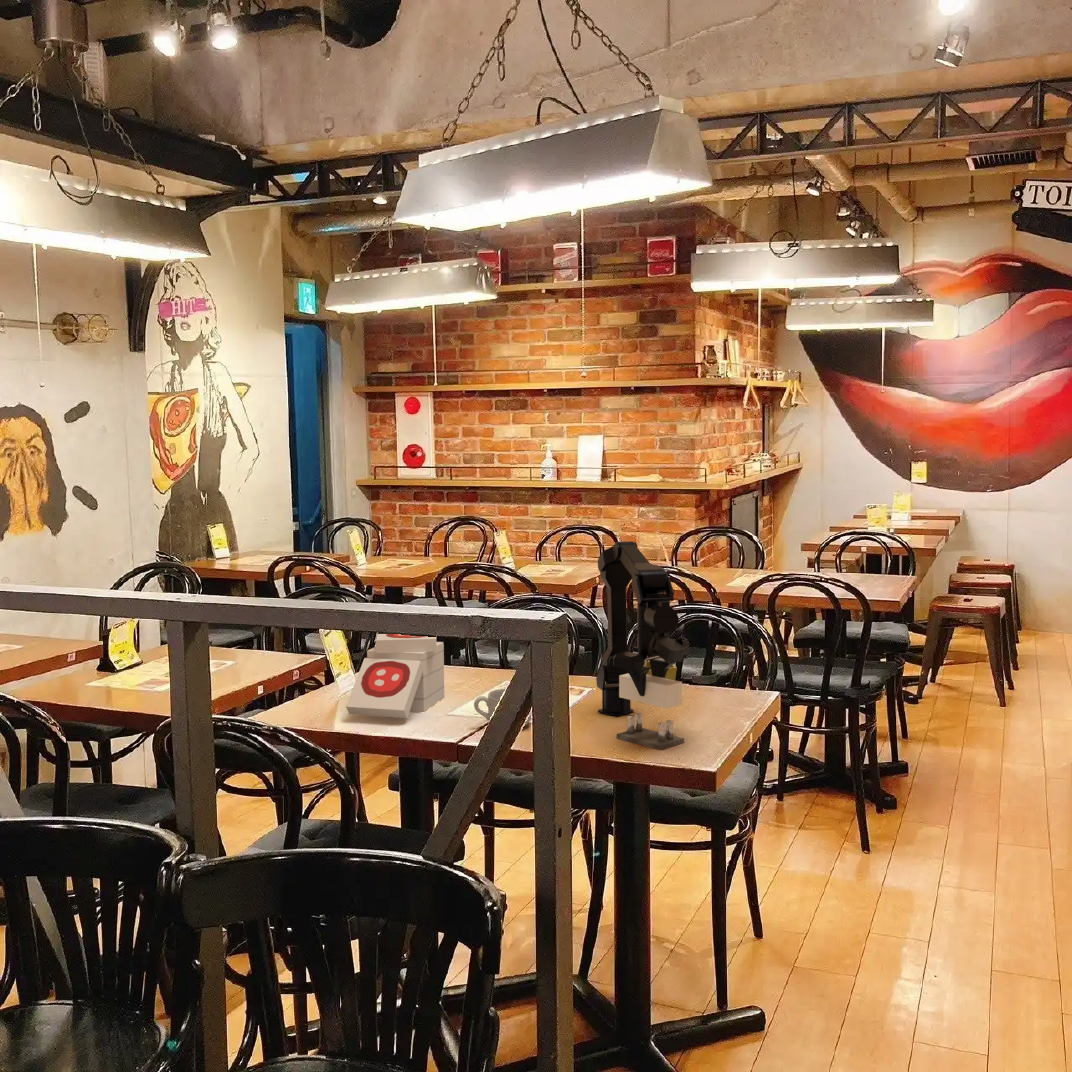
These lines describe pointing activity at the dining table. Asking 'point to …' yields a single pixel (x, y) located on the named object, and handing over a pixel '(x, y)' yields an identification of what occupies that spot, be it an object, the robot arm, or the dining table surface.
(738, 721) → the dining table surface
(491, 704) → the teacup
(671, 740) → the peg stand
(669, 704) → the block
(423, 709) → the stacked boxes
